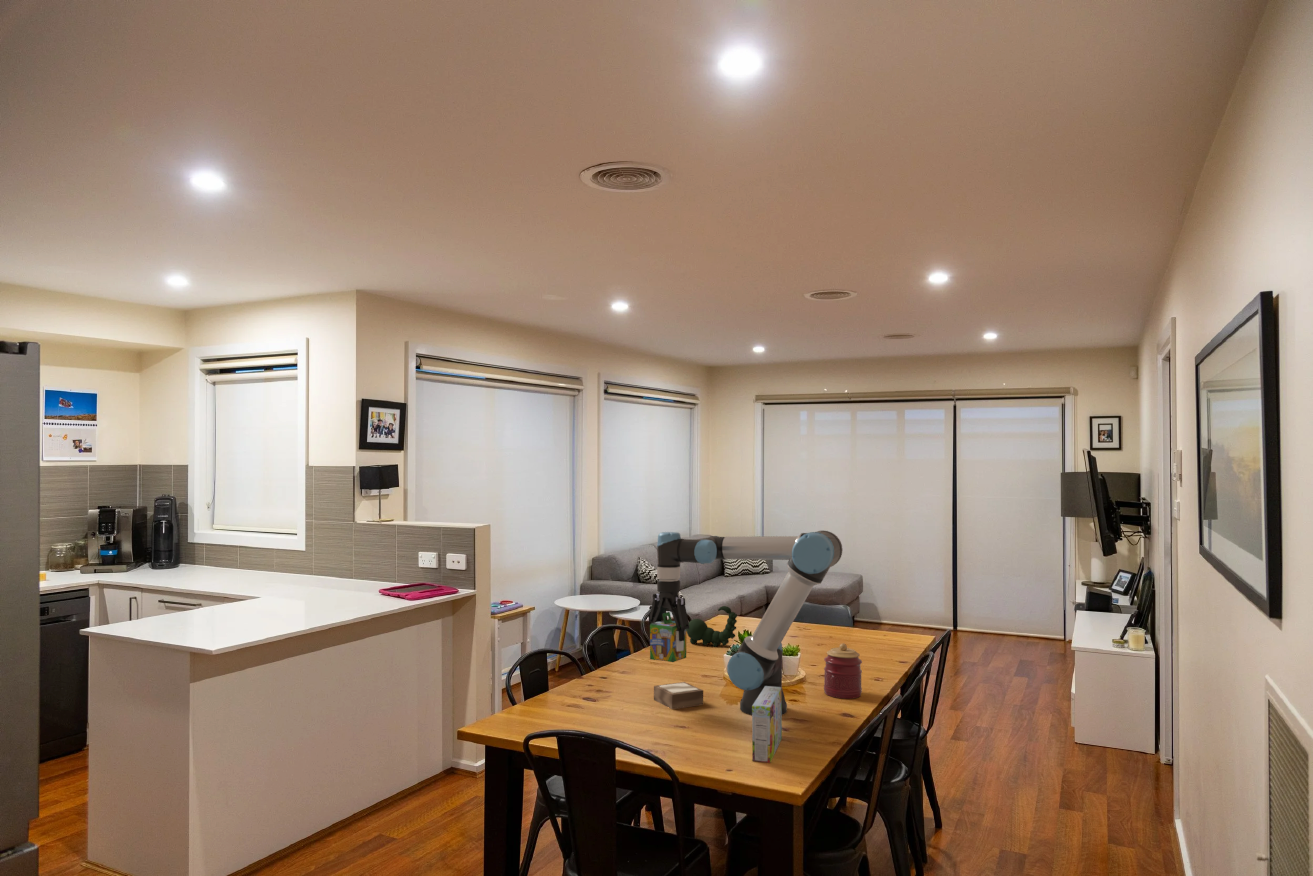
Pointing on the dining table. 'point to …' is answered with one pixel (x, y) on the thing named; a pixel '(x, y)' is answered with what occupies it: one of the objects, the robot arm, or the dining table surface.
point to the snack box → (766, 724)
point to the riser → (678, 695)
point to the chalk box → (665, 641)
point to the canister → (843, 673)
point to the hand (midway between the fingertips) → (668, 647)
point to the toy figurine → (707, 634)
